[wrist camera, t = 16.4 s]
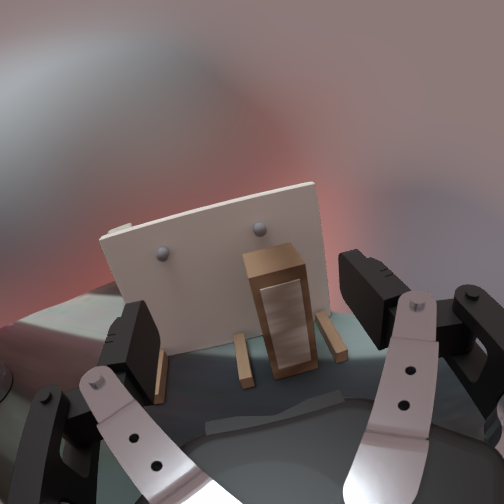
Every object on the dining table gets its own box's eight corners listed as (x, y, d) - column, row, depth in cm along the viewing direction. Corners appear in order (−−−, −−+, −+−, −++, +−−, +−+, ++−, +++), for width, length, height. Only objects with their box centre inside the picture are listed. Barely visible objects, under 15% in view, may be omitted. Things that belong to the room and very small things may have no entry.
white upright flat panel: (147, 405, 27) (70, 275, 21) (155, 352, 35) (102, 236, 29) (354, 357, 28) (347, 203, 22) (327, 310, 36) (311, 181, 29)
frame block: (274, 381, 28) (248, 279, 23) (266, 350, 32) (242, 254, 27) (318, 368, 28) (305, 264, 23) (306, 340, 32) (290, 241, 27)
